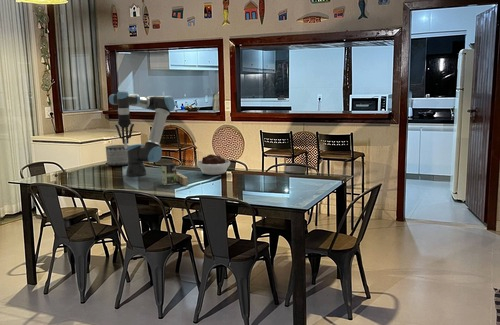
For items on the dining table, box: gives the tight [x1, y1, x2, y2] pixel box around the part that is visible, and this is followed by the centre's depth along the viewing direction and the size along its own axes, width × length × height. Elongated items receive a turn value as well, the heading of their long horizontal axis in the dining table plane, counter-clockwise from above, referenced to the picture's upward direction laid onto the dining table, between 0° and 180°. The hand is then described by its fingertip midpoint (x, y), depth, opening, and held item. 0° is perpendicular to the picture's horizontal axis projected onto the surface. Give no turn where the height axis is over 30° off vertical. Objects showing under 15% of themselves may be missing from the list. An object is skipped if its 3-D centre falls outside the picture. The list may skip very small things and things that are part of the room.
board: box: [176, 171, 189, 186], centre depth 338 cm, size 22×3×5 cm, turn 25°
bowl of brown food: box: [196, 153, 231, 176], centre depth 365 cm, size 25×25×15 cm
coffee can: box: [160, 161, 178, 186], centre depth 334 cm, size 10×10×14 cm
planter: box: [105, 144, 129, 167], centre depth 409 cm, size 19×19×16 cm
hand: (125, 148), depth 335 cm, fingers closed
